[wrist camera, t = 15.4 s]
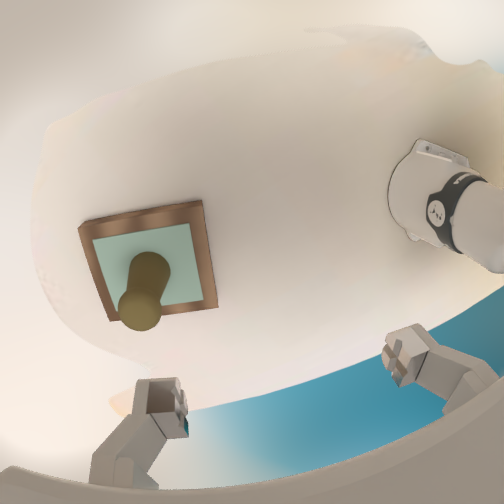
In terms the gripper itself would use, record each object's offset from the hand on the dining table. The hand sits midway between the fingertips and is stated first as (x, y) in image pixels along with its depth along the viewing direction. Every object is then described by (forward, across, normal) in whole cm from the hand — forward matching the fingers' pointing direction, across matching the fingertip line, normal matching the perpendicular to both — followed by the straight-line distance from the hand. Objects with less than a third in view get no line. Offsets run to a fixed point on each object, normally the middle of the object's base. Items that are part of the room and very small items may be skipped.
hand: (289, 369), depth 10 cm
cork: (+30, +12, +10) cm, 33 cm away
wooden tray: (+33, +12, +10) cm, 36 cm away
